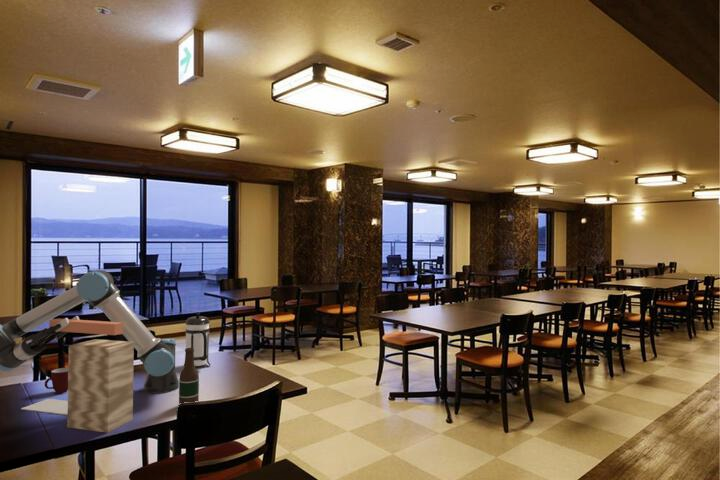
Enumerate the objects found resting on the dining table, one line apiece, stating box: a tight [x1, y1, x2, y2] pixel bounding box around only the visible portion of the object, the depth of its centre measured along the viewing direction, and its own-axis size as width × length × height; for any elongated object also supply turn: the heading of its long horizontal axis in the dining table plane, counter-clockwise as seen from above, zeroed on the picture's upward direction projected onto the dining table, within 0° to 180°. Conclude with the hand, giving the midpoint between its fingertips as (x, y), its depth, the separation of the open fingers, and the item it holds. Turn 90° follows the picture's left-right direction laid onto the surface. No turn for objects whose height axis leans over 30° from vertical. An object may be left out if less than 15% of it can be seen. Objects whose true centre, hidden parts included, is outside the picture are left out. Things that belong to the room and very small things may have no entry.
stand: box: [66, 338, 135, 433], centre depth 167 cm, size 18×12×30 cm, turn 76°
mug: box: [44, 367, 68, 394], centre depth 200 cm, size 11×8×10 cm
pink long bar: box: [48, 318, 123, 336], centre depth 169 cm, size 30×4×4 cm, turn 76°
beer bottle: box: [178, 348, 200, 405], centre depth 186 cm, size 8×8×24 cm
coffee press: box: [183, 312, 211, 368], centre depth 245 cm, size 17×16×30 cm
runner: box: [20, 398, 68, 416], centre depth 182 cm, size 30×12×1 cm, turn 76°
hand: (73, 320), depth 170 cm, fingers closed on pink long bar, 4 cm apart
